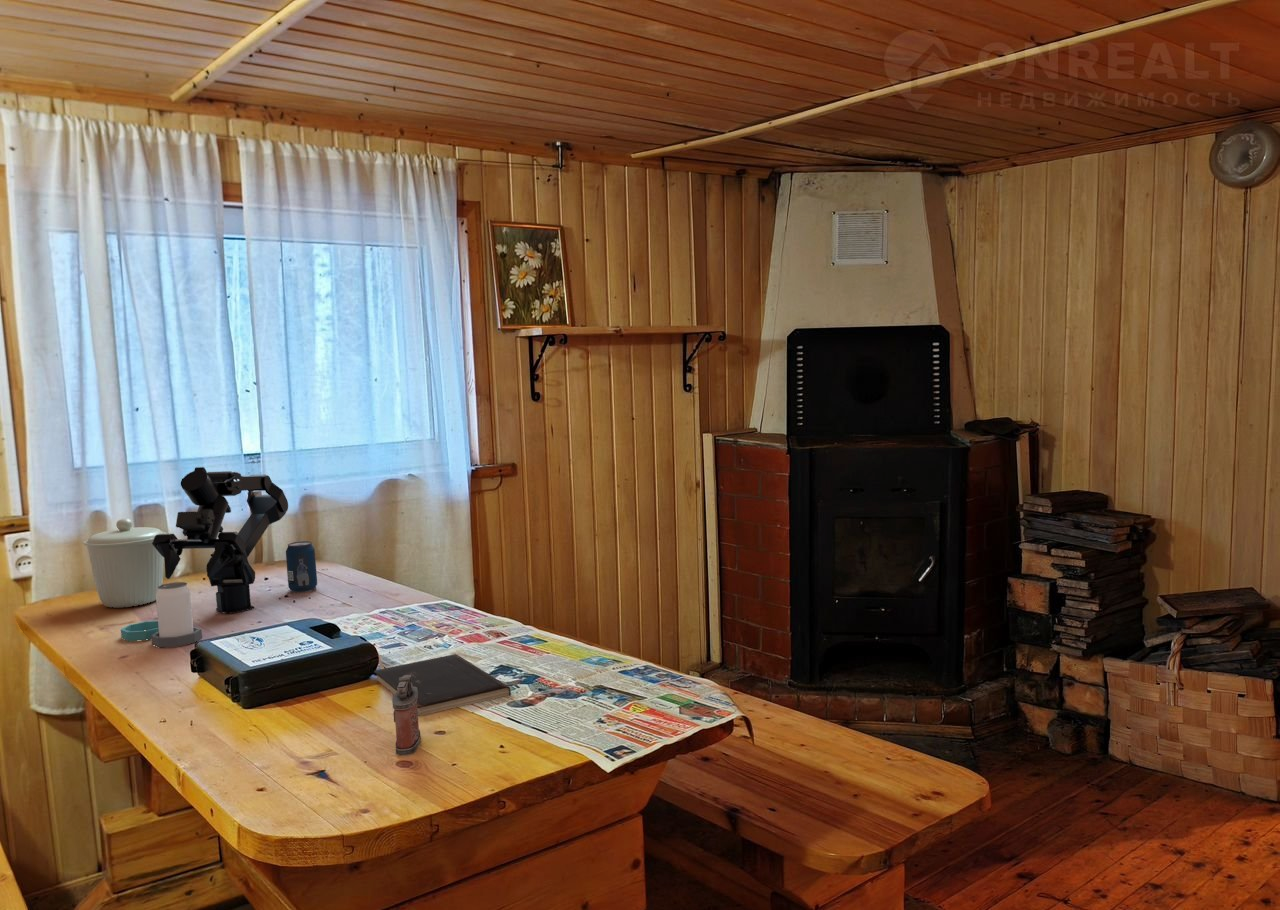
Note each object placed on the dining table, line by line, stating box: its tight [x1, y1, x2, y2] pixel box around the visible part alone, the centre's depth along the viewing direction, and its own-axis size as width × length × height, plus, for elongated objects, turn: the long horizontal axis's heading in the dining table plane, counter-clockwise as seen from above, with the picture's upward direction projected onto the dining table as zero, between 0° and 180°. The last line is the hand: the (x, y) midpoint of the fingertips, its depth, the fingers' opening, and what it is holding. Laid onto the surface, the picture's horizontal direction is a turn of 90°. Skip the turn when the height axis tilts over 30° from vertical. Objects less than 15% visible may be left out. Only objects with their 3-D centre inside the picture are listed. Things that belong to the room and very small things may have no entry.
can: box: [155, 581, 194, 638], centre depth 206 cm, size 6×6×12 cm
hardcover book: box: [373, 653, 512, 717], centre depth 170 cm, size 16×23×2 cm
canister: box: [83, 518, 168, 609], centre depth 243 cm, size 18×18×21 cm
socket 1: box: [120, 620, 159, 642], centre depth 213 cm, size 9×9×2 cm
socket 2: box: [151, 625, 203, 649], centre depth 207 cm, size 9×9×2 cm
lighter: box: [392, 675, 422, 757], centre depth 145 cm, size 8×3×10 cm, turn 5°
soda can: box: [285, 540, 318, 594], centre depth 250 cm, size 7×7×12 cm
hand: (187, 577), depth 212 cm, fingers open, 9 cm apart
